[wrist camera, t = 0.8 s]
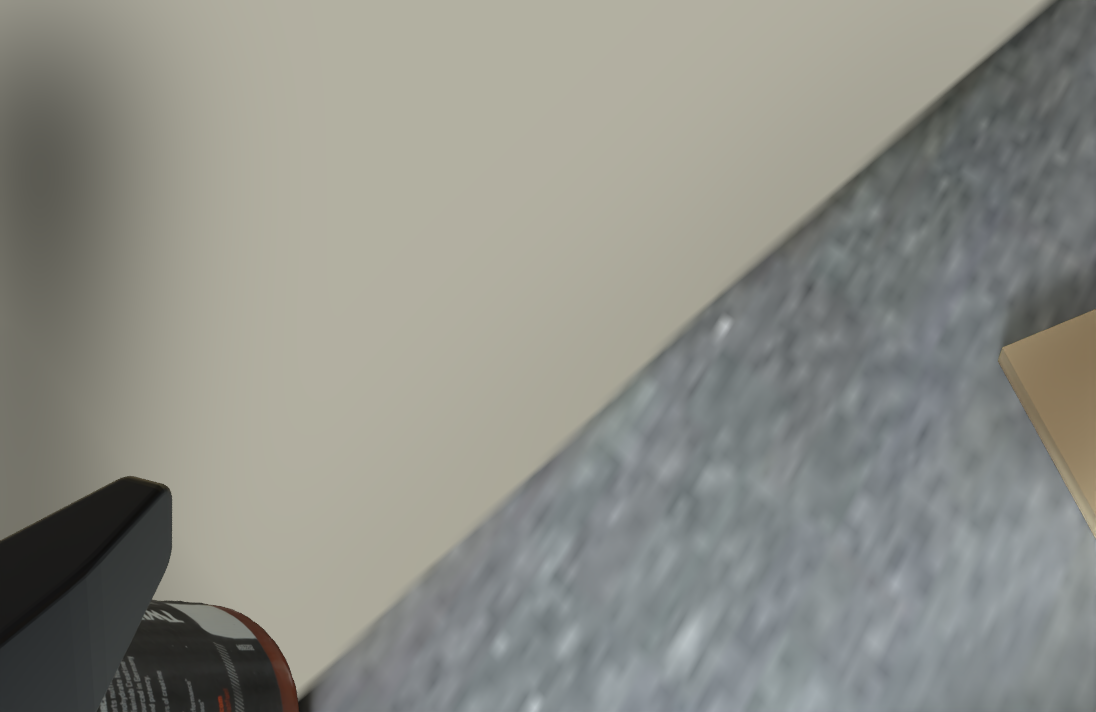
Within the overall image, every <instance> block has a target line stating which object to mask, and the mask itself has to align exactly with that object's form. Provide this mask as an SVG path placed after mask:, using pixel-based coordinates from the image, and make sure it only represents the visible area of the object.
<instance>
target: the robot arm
mask: <svg viewBox="0 0 1096 712" xmlns="http://www.w3.org/2000/svg"><path fill="white" fill-rule="evenodd" d="M171 550H172V495H171V492H170V489H169V488H168V487H167V486H166V485H164V484H161V483H157V482H153V481H149V480H146V479H141V478H138V477H134V476H127V477H123V478H120V479H118V480H116V481H114V482H112V483H110V484H108V485H106V486H104V487H102V488H100V489H98V490H96V491H95V492H93V493H91V494H89V495H87V496H85V497H83V498H81V499H79V500H77V501H75V502H74V503H71V504H70V505H68V506H66V507H64V508H62V509H60V510H58V511H56V512H54V513H52V514H50V515H48V516H47V517H45V518H43V519H41V520H39V521H37V522H35V523H33V524H31V525H29V526H27V527H25V528H23V529H22V530H20V531H18V532H16V533H14V534H12V535H10V536H8V537H6V538H4V539H2V540H0V712H96V711H97V710H98V708H99V706H100V704H101V702H102V700H103V698H104V696H105V694H106V692H107V690H108V688H109V686H110V684H111V682H112V680H113V678H114V676H115V674H116V672H117V670H118V667H119V665H120V663H121V661H122V659H123V657H124V655H125V653H126V651H127V649H128V647H129V645H130V643H131V641H132V639H133V637H134V635H135V633H136V631H137V628H138V626H139V624H140V622H141V620H142V618H143V616H144V614H145V612H146V610H147V608H148V606H149V604H150V602H151V600H152V597H153V595H154V594H155V592H156V589H157V587H158V585H159V583H160V581H161V579H162V577H163V575H164V573H165V571H166V568H167V566H168V563H169V559H170V555H171Z"/></svg>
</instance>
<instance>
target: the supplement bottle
mask: <svg viewBox="0 0 1096 712" xmlns="http://www.w3.org/2000/svg"><path fill="white" fill-rule="evenodd" d="M96 712H299V707H298V698H297V691H296V686H295V683H294V680H293V678H292V674H291V671H290V668H289V666H288V663H287V661H286V659H285V657H284V656H283V654H282V652H281V651H280V649H279V647H278V645H277V644H276V643H275V641H274V640H273V639H271V637H270V636H269V635H268V634H267V633H266V631H265V630H264V629H263V628H262V627H260V626H259V625H258V624H257V623H255V622H253V621H252V620H251V619H250V618H248V617H247V616H245V615H243V614H242V613H239V612H236V611H234V610H232V609H229V608H225V607H221V606H216V605H208V604H203V603H189V602H182V601H156V600H151V602H150V604H149V606H148V608H147V610H146V612H145V614H144V616H143V618H142V620H141V622H140V624H139V626H138V628H137V631H136V633H135V635H134V637H133V639H132V641H131V643H130V645H129V647H128V649H127V651H126V653H125V655H124V657H123V659H122V661H121V663H120V665H119V667H118V670H117V672H116V674H115V676H114V678H113V680H112V682H111V684H110V686H109V688H108V690H107V692H106V694H105V696H104V698H103V700H102V702H101V704H100V706H99V708H98V710H97V711H96Z"/></svg>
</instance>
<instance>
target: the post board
mask: <svg viewBox="0 0 1096 712" xmlns="http://www.w3.org/2000/svg"><path fill="white" fill-rule="evenodd" d="M998 362H999V364H1000V366H1001V367H1002V369H1003V371H1004V373H1005V375H1006V377H1007V378H1008V380H1009V382H1010V384H1011V386H1012V387H1013V389H1014V391H1015V393H1016V395H1017V397H1018V398H1019V400H1020V402H1021V404H1022V406H1023V407H1024V409H1025V411H1026V413H1027V415H1028V417H1029V418H1030V420H1031V422H1032V424H1033V426H1034V427H1035V429H1036V431H1037V433H1038V435H1039V437H1040V438H1041V440H1042V442H1043V444H1044V446H1045V447H1046V449H1047V451H1048V453H1049V455H1050V456H1051V458H1052V460H1053V462H1054V464H1055V466H1056V467H1057V469H1058V471H1059V473H1060V475H1061V476H1062V478H1063V480H1064V482H1065V484H1066V486H1067V487H1068V489H1069V491H1070V493H1071V495H1072V496H1073V498H1074V500H1075V502H1076V504H1077V506H1078V507H1079V509H1080V511H1081V513H1082V515H1083V516H1084V518H1085V520H1086V522H1087V524H1088V526H1089V527H1090V529H1091V531H1092V533H1093V535H1094V536H1095V538H1096V309H1095V310H1092V311H1090V312H1087V313H1085V314H1082V315H1080V316H1078V317H1075V318H1073V319H1070V320H1068V321H1065V322H1063V323H1061V324H1058V325H1056V326H1053V327H1051V328H1048V329H1046V330H1044V331H1041V332H1039V333H1036V334H1034V335H1031V336H1029V337H1027V338H1024V339H1022V340H1019V341H1017V342H1014V343H1012V344H1010V345H1007V346H1005V347H1002V350H1001V353H1000V356H999V359H998Z"/></svg>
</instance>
